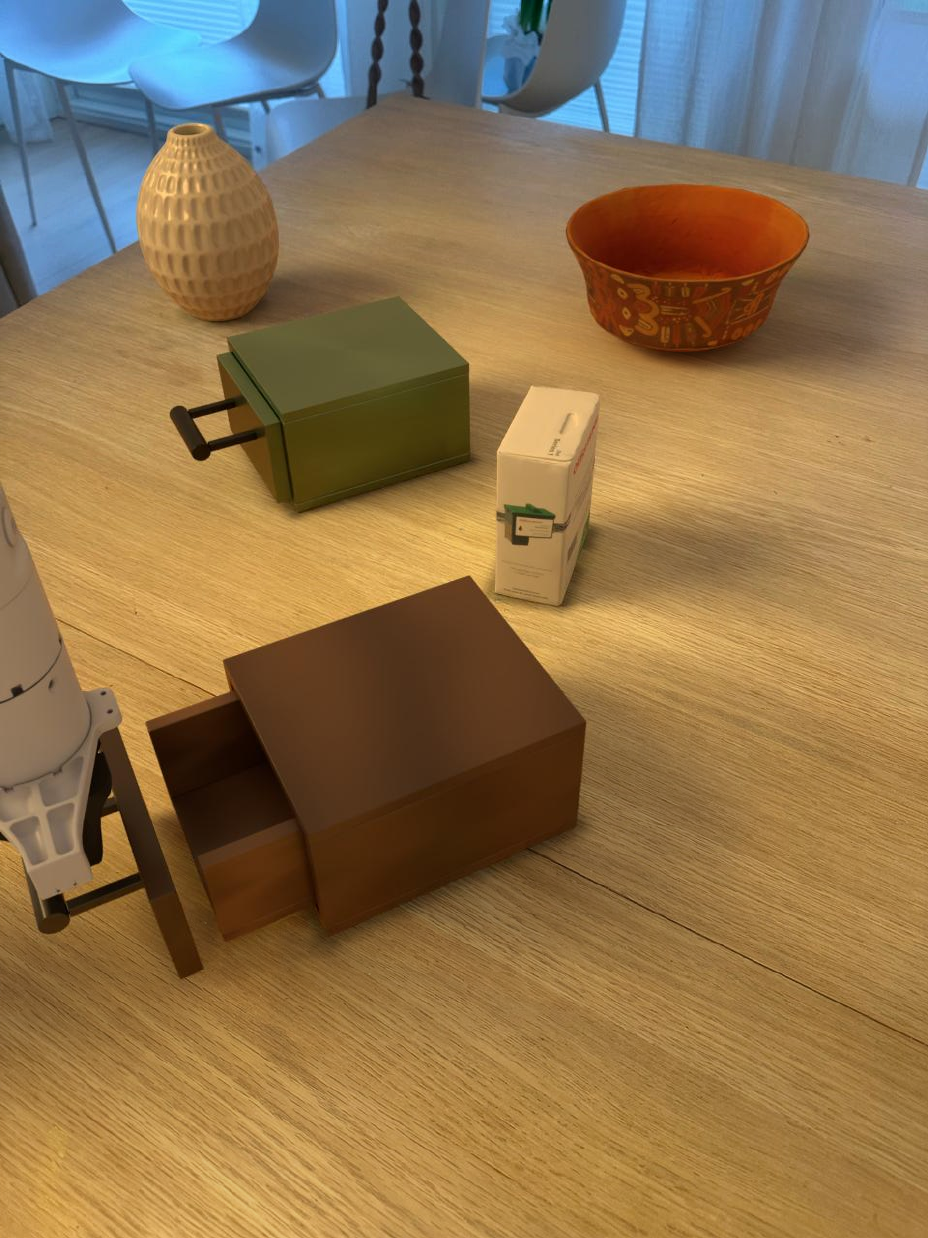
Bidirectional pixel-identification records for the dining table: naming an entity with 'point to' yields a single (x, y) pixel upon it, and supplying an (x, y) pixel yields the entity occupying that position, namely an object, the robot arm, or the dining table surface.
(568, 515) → the ink box
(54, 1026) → the dining table surface
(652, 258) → the bowl
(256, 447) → the drawer
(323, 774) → the brown drawer cabinet
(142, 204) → the vase
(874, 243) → the dining table surface
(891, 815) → the dining table surface
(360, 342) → the green drawer cabinet
